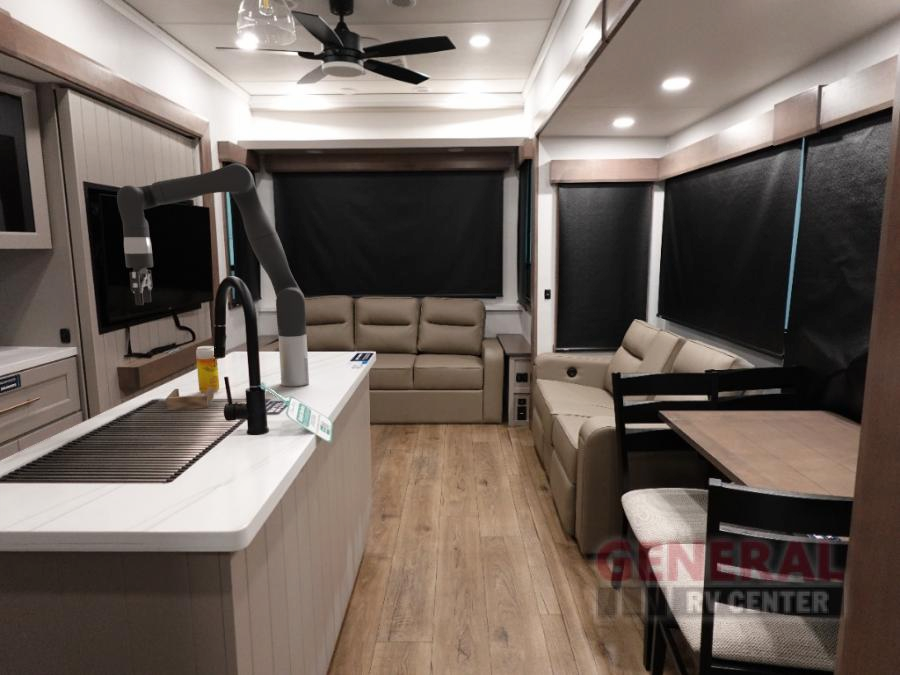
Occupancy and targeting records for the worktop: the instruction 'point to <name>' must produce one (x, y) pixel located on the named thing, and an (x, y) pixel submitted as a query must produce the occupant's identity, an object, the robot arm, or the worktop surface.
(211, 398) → the can holder
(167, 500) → the worktop surface
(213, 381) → the amber medicine vial
